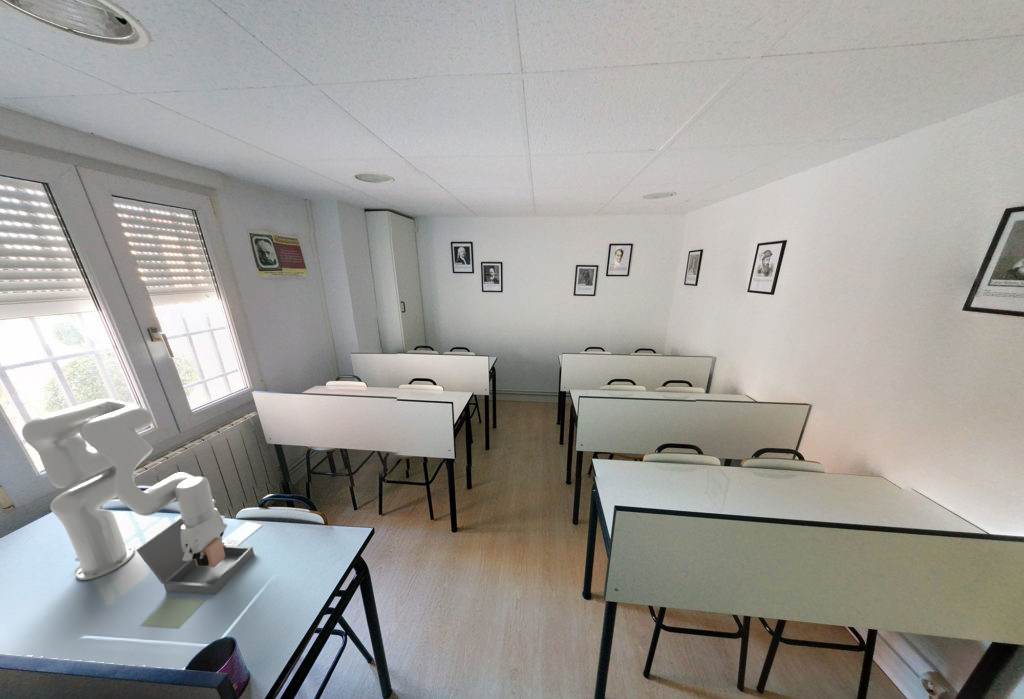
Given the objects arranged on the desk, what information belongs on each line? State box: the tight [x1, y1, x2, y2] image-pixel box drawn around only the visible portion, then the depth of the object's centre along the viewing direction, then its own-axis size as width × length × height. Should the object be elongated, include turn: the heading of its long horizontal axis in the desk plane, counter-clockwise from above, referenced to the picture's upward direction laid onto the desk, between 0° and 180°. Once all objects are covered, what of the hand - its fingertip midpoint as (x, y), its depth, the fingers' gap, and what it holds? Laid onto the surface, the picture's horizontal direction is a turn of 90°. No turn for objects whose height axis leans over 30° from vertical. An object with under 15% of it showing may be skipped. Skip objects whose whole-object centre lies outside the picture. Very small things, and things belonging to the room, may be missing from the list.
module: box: [195, 538, 225, 567], centre depth 104 cm, size 6×4×8 cm, turn 88°
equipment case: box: [135, 516, 255, 596], centre depth 104 cm, size 22×15×17 cm
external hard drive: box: [222, 521, 264, 546], centre depth 121 cm, size 2×8×12 cm
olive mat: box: [139, 597, 207, 629], centre depth 94 cm, size 12×8×1 cm, turn 88°
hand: (210, 558), depth 105 cm, fingers closed on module, 4 cm apart
